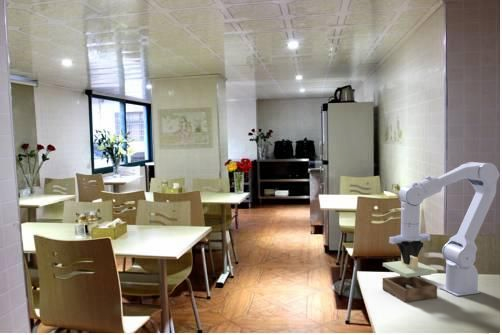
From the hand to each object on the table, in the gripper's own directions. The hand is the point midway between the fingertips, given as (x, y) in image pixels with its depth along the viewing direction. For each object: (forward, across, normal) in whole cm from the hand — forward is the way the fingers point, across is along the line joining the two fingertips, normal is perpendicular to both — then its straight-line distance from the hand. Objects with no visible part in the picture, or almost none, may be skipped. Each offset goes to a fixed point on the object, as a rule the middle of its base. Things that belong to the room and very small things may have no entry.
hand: (409, 263), depth 135 cm
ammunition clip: (+10, +10, +12) cm, 19 cm away
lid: (+3, 0, 0) cm, 3 cm away
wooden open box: (+10, 0, 0) cm, 10 cm away
